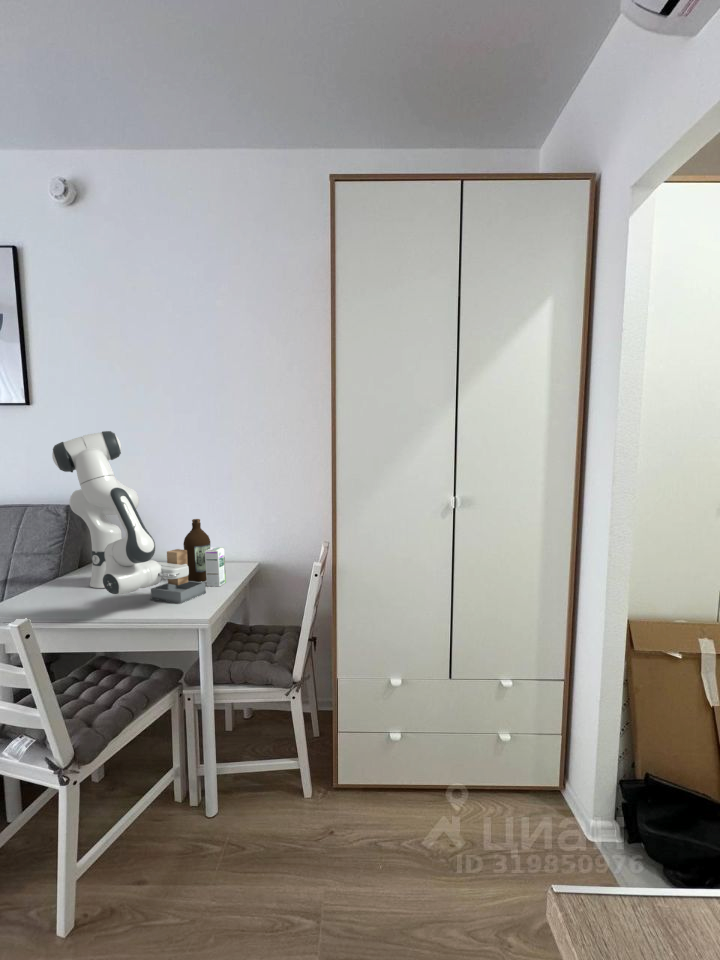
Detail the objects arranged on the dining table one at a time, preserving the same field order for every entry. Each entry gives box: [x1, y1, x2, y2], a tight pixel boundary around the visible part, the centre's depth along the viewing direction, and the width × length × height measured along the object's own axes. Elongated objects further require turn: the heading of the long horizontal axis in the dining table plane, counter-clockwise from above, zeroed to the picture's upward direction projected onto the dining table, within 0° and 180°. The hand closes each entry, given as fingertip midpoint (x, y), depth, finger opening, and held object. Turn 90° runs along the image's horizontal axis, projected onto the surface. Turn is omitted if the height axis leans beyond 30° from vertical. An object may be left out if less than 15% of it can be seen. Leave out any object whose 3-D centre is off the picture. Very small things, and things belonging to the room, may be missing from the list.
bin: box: [150, 581, 207, 604], centre depth 204 cm, size 14×14×4 cm
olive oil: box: [182, 518, 211, 582], centre depth 227 cm, size 11×11×25 cm
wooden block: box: [166, 548, 188, 585], centre depth 203 cm, size 5×5×12 cm
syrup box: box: [205, 546, 227, 588], centre depth 219 cm, size 6×6×14 cm
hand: (179, 565), depth 204 cm, fingers closed on wooden block, 5 cm apart
